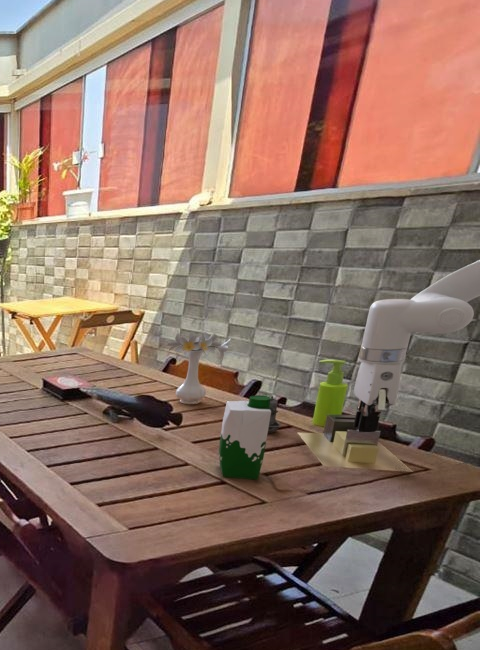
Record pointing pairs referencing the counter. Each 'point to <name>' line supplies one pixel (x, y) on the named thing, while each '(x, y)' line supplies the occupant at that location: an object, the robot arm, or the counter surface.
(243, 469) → the milk carton
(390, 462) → the cutting board
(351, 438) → the knife
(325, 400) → the soap dispenser
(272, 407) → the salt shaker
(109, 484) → the counter surface
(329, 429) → the block
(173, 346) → the flower vase
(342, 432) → the butter
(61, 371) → the counter surface
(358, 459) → the butter slice
